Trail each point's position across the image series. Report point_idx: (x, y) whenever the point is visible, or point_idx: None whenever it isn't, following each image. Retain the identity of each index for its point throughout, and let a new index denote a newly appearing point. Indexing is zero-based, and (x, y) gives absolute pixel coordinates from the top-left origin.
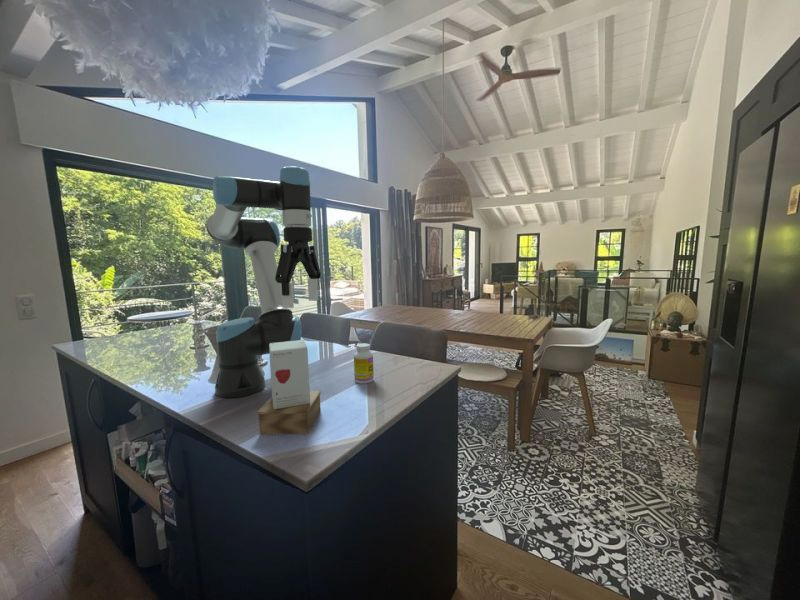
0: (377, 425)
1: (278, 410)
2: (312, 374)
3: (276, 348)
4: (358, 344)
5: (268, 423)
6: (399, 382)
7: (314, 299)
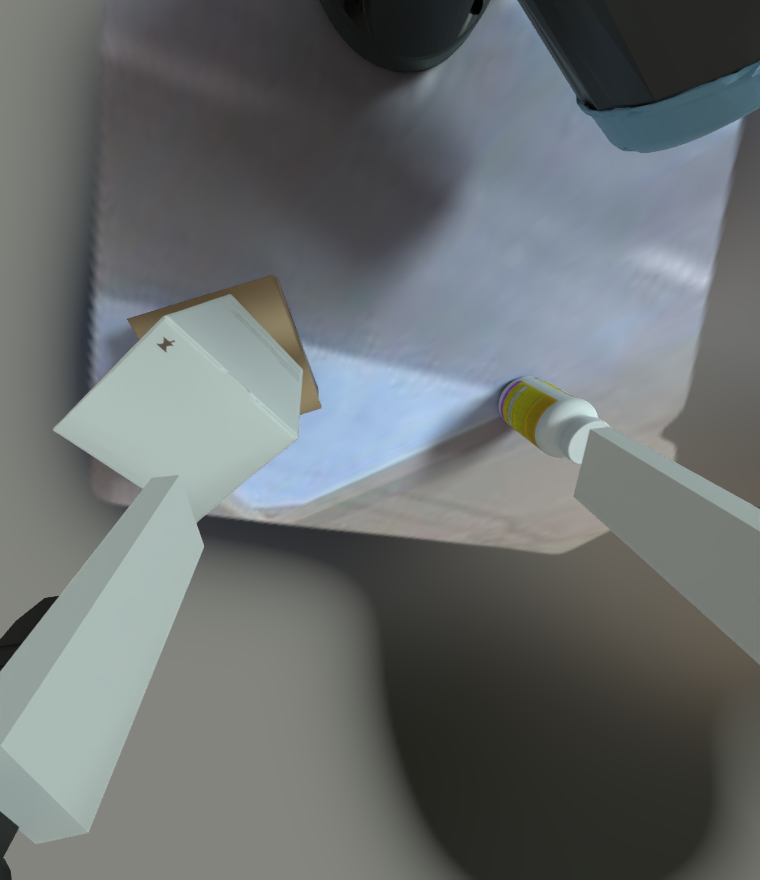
0: (301, 521)
1: None
2: (572, 200)
3: (97, 429)
4: (598, 426)
5: None
6: (514, 482)
7: (584, 484)
